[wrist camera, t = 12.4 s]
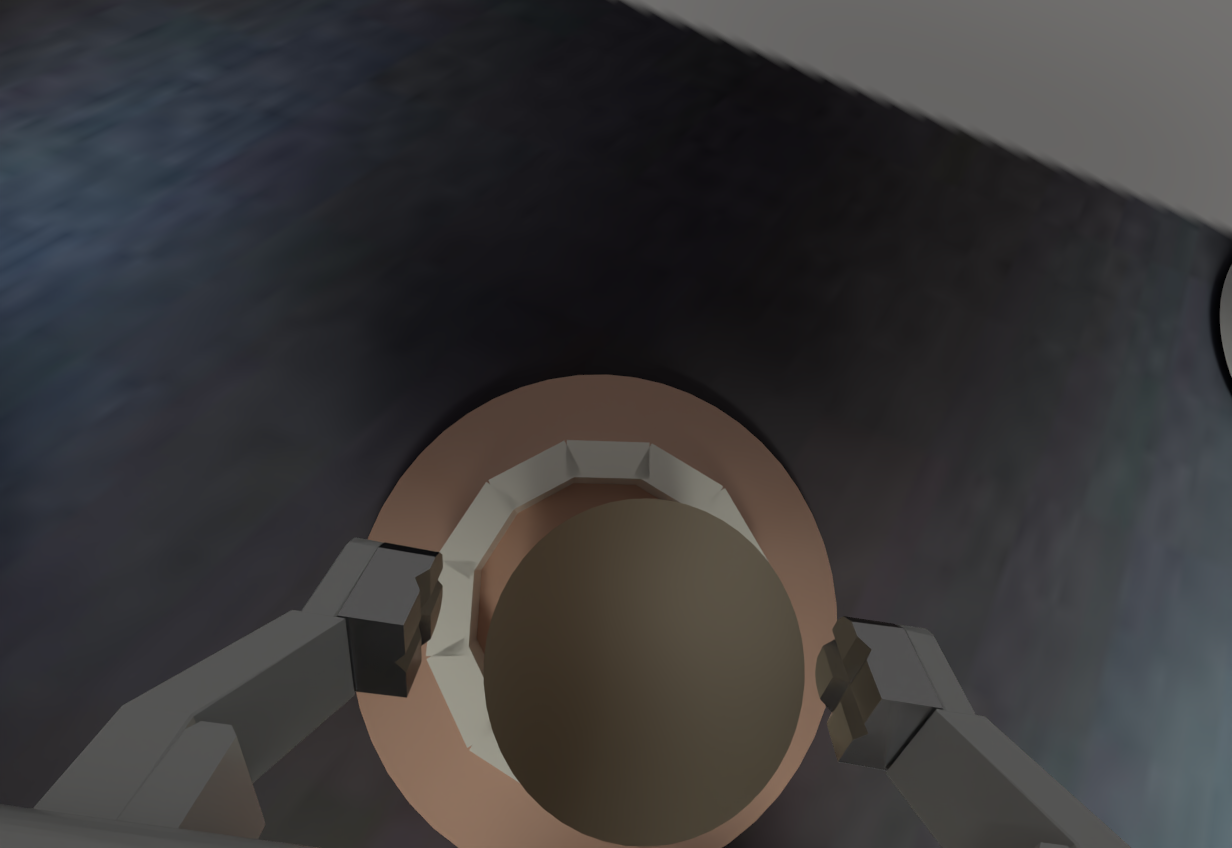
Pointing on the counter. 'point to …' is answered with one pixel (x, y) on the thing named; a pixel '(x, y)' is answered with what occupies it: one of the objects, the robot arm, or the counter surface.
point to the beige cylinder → (644, 672)
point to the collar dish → (515, 522)
